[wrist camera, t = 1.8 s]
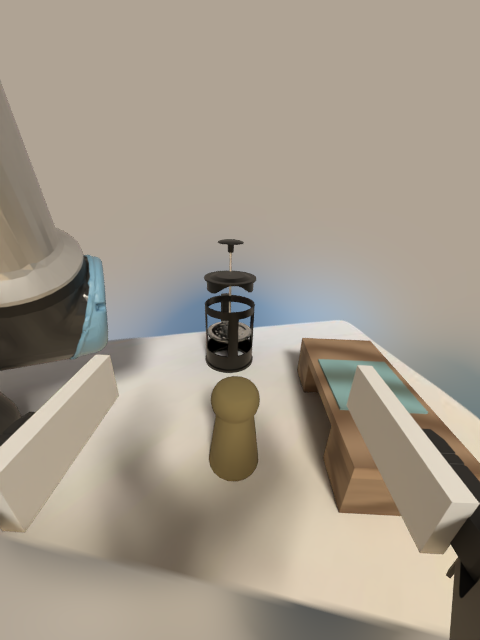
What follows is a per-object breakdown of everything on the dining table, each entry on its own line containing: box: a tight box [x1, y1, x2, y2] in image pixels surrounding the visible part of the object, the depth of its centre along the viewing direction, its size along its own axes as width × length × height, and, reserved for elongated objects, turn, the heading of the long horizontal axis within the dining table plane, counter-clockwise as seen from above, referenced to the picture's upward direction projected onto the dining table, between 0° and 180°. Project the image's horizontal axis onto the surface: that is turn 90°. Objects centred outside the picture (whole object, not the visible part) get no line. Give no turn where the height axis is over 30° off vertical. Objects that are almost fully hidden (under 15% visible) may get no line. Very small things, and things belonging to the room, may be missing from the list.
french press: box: [204, 239, 256, 373], centre depth 45 cm, size 12×9×23 cm
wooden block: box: [297, 338, 480, 516], centre depth 34 cm, size 24×12×7 cm, turn 178°
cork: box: [209, 376, 260, 481], centre depth 28 cm, size 6×6×11 cm
